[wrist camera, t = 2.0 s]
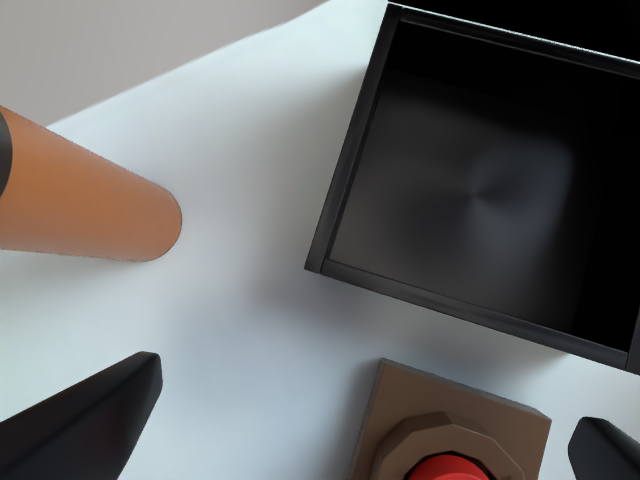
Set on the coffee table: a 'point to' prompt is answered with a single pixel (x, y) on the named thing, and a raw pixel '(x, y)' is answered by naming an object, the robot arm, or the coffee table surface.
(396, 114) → the black open box
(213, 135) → the coffee table surface
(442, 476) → the button
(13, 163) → the copper tin
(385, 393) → the block
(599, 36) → the lid
